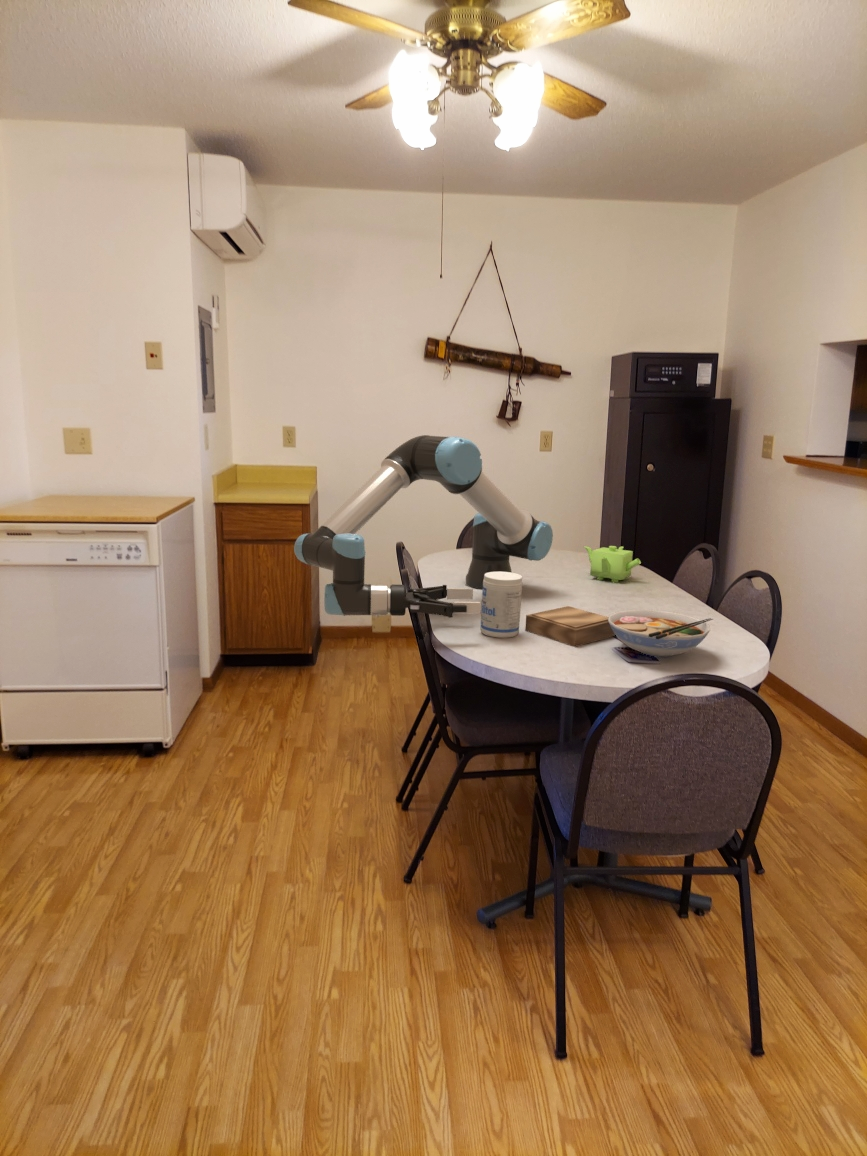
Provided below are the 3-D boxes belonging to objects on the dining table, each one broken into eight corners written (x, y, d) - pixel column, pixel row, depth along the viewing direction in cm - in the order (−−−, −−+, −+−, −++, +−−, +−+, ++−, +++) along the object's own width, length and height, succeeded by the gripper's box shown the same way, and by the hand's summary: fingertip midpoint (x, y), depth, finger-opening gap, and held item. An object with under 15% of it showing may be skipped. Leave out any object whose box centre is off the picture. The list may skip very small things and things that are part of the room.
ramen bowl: (644, 632, 196) (647, 601, 194) (729, 655, 179) (733, 621, 177) (582, 650, 179) (584, 616, 178) (668, 677, 163) (672, 640, 161)
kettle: (580, 575, 261) (583, 542, 259) (619, 574, 264) (621, 542, 262) (599, 585, 247) (602, 550, 244) (640, 584, 250) (643, 550, 248)
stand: (525, 630, 194) (526, 613, 193) (567, 620, 204) (568, 604, 203) (574, 646, 182) (576, 628, 181) (616, 635, 192) (618, 618, 191)
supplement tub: (472, 632, 191) (474, 574, 188) (498, 625, 198) (500, 569, 194) (501, 641, 184) (504, 581, 181) (527, 634, 191) (530, 576, 188)
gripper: (387, 602, 199) (469, 602, 201) (390, 629, 175) (483, 630, 177) (388, 573, 198) (470, 574, 200) (390, 597, 173) (484, 598, 175)
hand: (476, 600), depth 188 cm, fingers open, 13 cm apart
